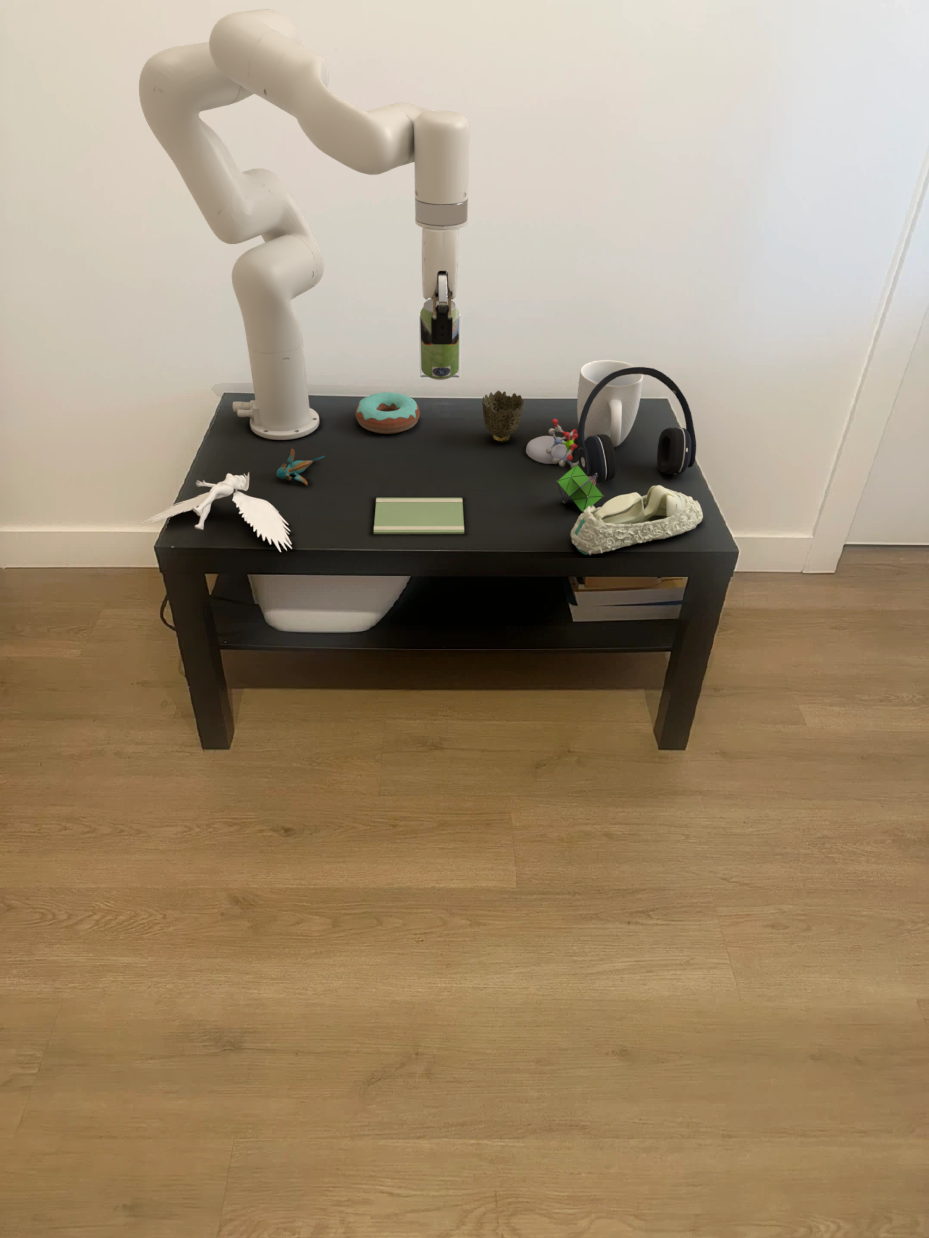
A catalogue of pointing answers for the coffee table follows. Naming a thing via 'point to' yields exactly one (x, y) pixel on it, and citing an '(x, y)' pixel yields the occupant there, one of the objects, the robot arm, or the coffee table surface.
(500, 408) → the cup
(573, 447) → the molecular model
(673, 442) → the earphone
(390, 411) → the donut
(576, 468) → the green polyhedron model
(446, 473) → the coffee table surface
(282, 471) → the dragon figurine
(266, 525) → the figurine
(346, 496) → the coffee table surface
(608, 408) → the mug
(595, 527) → the ballet flat
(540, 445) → the white pebble
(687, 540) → the coffee table surface
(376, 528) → the towel mat
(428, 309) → the beverage can
